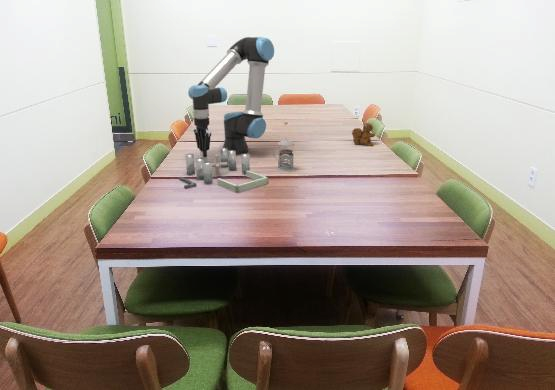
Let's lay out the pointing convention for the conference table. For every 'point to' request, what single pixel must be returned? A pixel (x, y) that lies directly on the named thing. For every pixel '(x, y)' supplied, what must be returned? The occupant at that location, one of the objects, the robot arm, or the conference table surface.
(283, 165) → the french press
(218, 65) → the robot arm
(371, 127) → the stuffed squirrel
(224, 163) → the beige rod cross
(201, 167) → the set of silver pegs
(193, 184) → the hook bar
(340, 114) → the conference table surface
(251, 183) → the corral
